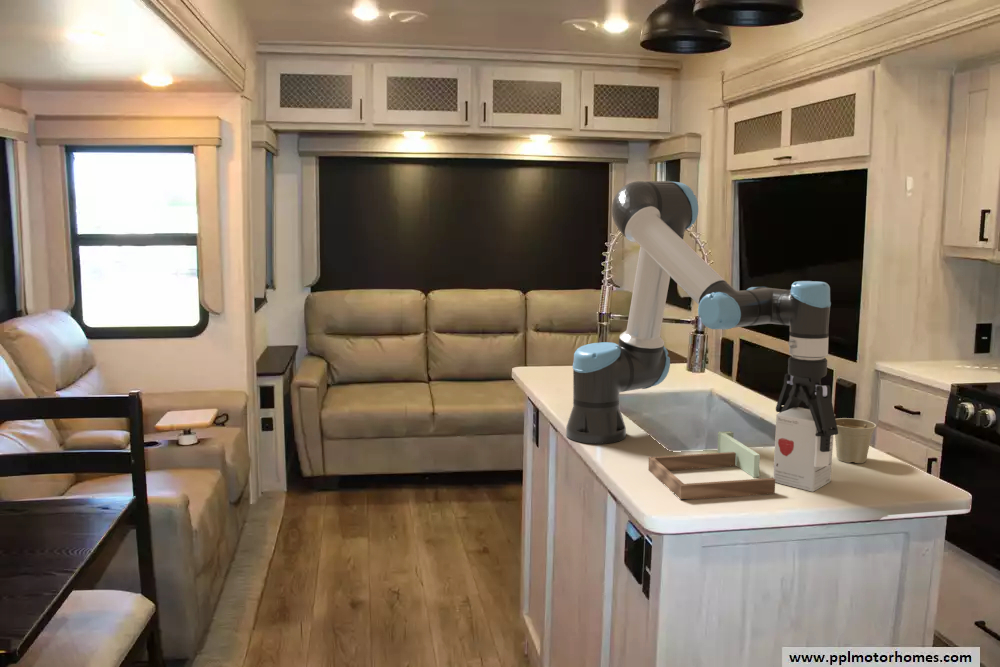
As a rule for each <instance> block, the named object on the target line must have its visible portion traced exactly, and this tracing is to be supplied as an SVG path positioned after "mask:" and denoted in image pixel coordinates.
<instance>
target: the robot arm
mask: <svg viewBox="0 0 1000 667" xmlns="http://www.w3.org/2000/svg"><path fill="white" fill-rule="evenodd" d="M698 202H699V201H698V198H697V196H696V195H695V194H694V191H693V189H691V187H690V186H689V185H687V184H685V183H683V182H678V181H672V180H671V181H670V180H659V181H658V180H657V181H654V180H653V181H643V180H640V181H639V180H635V181H631V182H629V183H626V184H625V185H623V186H622V187H621V188H620V189H619V190H618V191H617V192H616V194H615V196H614V197H613V200H612V203H611V216H612V220H613V222H614V224H615V226H616V228H617V230H619V232H620V233H621V234H622V235H623V236H624V237H625V238H626V240H628V241H629V242H632V243H637V244H638V245H639V246H640V247H639V252H638V257H637V263H636V269H635V275H634V281H633V288H632V296H631V301H630V307H629V314H628V320H627V326H626V330H625V331H623V332H621V333H620V334H619V339H618V343H615V342H612V341H611V342H610V341H609V342H607V341H604V342H593V343H592V342H591V343H588V344H583V345H581V346H579V347H578V348H577V349H576V350H575V351H574V353H573V363H572V369H573V370H572V371H573V373H572V374H573V380H572V381H573V384H572V388H573V390H572V391H573V398H572V399H573V401H572V404H573V406H572V409H571V412H570V414H569V418H568V421H567V424H566V427H565V428H566V432H565V434H566V437H567V438H568V439H570V440H572V441H575V442H578V443H584V444H597V445H598V444H599V445H601V444H612V443H617V442H618V443H619V442H621V441H623V440H625V439H626V436H627V429H626V425H625V424H626V423H625V421H624V418H623V415H622V411H621V407H620V393H625V392H630V391H636V390H647V389H649V388H652V387H655V386H659V384H662V382H664V380H665V379H666V378H667V376H668V375H669V373H670V372H669V371H670V367H671V358H670V356H668V355H669V352H668V349H667V348H666V347H665V340H664V339H663V338H662V337H661V336H660V335H661V331H662V330H661V329H662V325H663V319H664V315H665V314H664V313H665V308H666V303H667V302H666V301H667V297H668V293H669V292H668V290H669V285H670V280H671V279H672V280H673V281H674V282H675V283H676V284H677V285H678V286H679V287H680V288H681V289H682V290H683V291H684V292H685V293H686V294H687V295H688V296H689V297H690V298H691V299H692V300H693V301H694V302H695V303H696V304H697V305H698V307H697V309H698V310H697V313H698V314H697V315H698V316H699V318H700V322H701V323H702V324H703V326H705V327H706V328H707V329H710V330H722V331H723V330H731V329H735V328H742V327H751V326H758V325H759V326H760V325H767V324H770V325H771V324H773V325H781V326H783V325H784V326H789V340H788V353H789V355H790V356H789V357H788V359H787V365H788V366H787V373H785V374H784V378H783V384H782V388H781V391H780V394H779V397H778V400H777V404H776V406H775V411H776V413H780V412H783V411H786V410H789V409H791V408H795V407H799V406H800V404H801V403H802V402H803V403H805V406H807V407H808V409H810V411H811V414H812V417H813V420H814V422H815V426H816V428H817V431H818V433H816V434H815V456H814V466H815V467H825V466H829V450H830V437H831V435H833V436H835V435H837V434H838V429H837V424H836V419H837V418H836V414H835V411H834V407H833V401H832V397H831V396H832V395H831V391H832V390H831V386H830V385H822V382H821V380H822V378H824V377H826V376H827V373H828V359H827V358H826V357H828V355H829V324H830V313H831V312H830V311H831V305H832V302H831V287H830V285H829V284H828V283H827V282H825V281H816V280H815V281H812V280H798V281H794V282H793V283H792V284H791V285H790V286H791V288H790V289H781V288H775V287H773V288H772V287H768V286H751V287H748V288H747V289H746V290H745V289H744V290H736V289H735V288H734V287H733V286H731V284H730V283H728V282H727V281H726V280H725V279H724V278H723V277H722V276H721V275H720V274H719V273H718V272H717V271H716V270H714V269H713V267H712V266H711V265H710V264H708V262H706V261H705V260H704V259H703V258H702V257H701V255H699V254H698V253H697V252H696V251H695V250H694V249H693V248H692V247H691V246H690V245H689V244H688V243H687V242H686V241H685V240H684V237H685V236H684V235H685V231H686V230H688V229H689V228H691V227H692V226H693V225H694V224H695V223H696V222H697V219H698V215H699V203H698ZM834 414H835V415H834ZM822 428H823V429H822ZM831 428H832V429H831Z"/></svg>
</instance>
